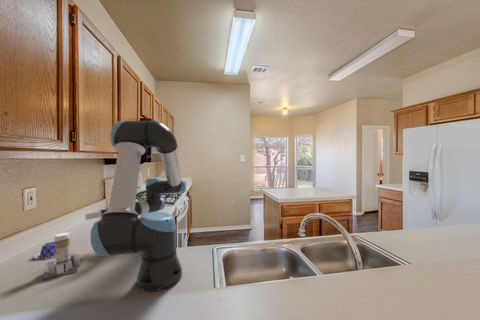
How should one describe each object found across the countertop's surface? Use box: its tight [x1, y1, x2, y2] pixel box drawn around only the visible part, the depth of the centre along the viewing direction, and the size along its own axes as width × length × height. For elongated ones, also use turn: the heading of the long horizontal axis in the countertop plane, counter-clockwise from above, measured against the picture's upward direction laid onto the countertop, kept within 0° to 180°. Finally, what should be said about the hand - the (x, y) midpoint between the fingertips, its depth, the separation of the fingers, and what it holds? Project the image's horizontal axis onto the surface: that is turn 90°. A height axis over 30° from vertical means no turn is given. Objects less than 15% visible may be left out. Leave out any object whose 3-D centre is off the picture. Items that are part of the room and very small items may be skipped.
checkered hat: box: [33, 241, 56, 260], centre depth 99 cm, size 12×12×5 cm
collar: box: [42, 253, 83, 280], centre depth 84 cm, size 10×10×4 cm
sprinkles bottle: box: [54, 232, 71, 264], centre depth 84 cm, size 5×5×14 cm
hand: (92, 218), depth 94 cm, fingers open, 13 cm apart
